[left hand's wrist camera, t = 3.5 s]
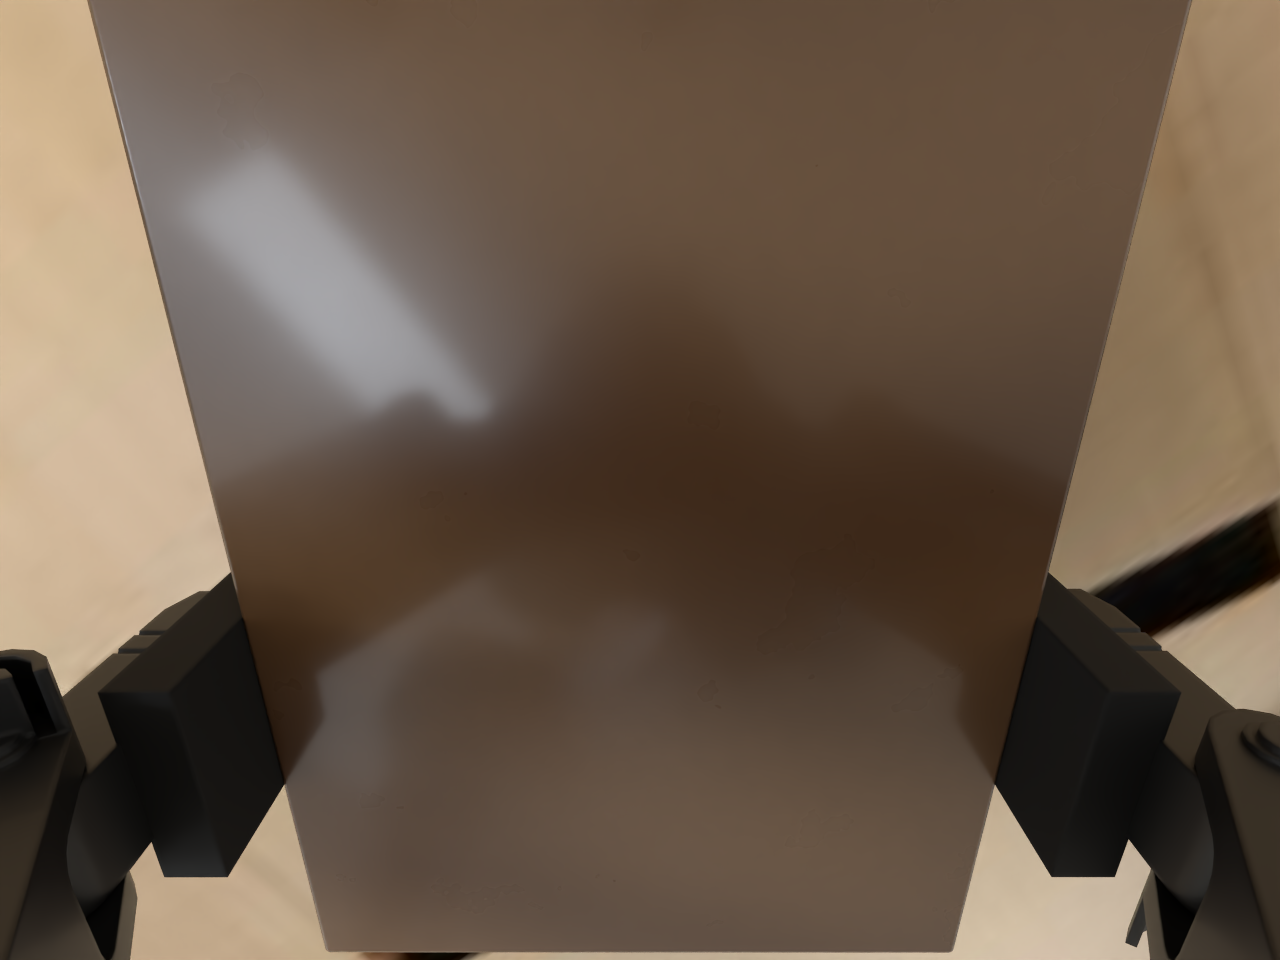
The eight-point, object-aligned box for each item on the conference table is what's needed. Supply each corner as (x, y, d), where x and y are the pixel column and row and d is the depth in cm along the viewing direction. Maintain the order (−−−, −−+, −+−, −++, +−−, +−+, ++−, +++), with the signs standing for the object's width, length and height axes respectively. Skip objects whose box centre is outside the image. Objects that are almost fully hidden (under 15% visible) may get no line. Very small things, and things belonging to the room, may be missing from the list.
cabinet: (376, -199, 13) (-184, -1050, 4) (905, -200, 13) (1463, -1053, 4) (465, 619, 19) (324, 954, 11) (813, 620, 19) (954, 954, 11)
